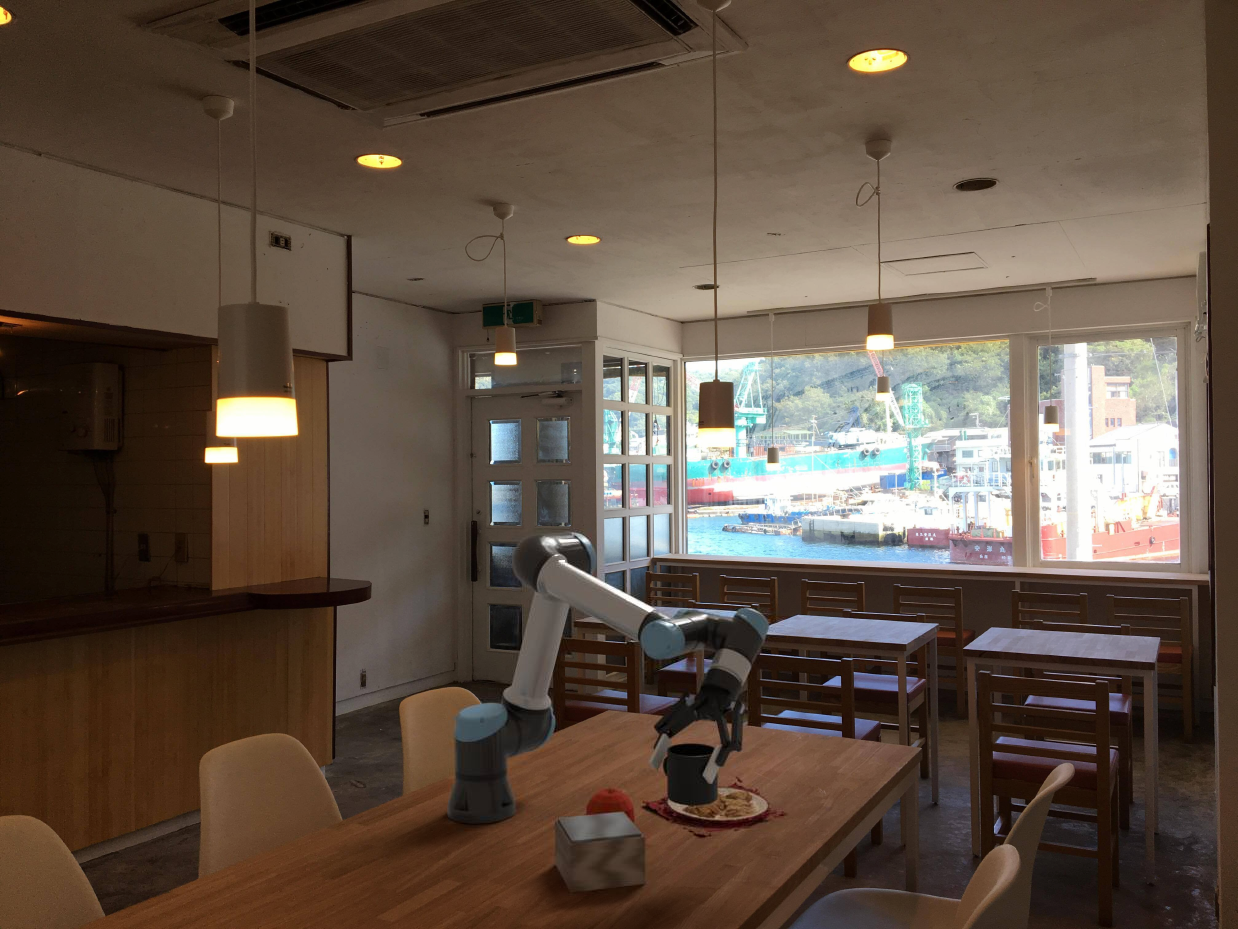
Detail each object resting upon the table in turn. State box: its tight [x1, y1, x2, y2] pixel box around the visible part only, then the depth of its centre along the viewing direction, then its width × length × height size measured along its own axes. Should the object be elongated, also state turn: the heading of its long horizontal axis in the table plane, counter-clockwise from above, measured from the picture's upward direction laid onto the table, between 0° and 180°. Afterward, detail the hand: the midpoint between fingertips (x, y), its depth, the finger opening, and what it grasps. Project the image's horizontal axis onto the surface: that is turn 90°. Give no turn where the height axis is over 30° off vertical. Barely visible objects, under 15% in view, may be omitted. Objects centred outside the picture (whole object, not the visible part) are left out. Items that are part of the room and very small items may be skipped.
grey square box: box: [554, 812, 646, 893], centre depth 186 cm, size 14×14×9 cm
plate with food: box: [642, 776, 789, 837], centre depth 222 cm, size 25×26×4 cm
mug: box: [662, 742, 719, 806], centre depth 186 cm, size 9×12×9 cm
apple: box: [585, 787, 636, 823], centre depth 202 cm, size 10×10×12 cm
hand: (679, 773), depth 184 cm, fingers closed on mug, 12 cm apart
